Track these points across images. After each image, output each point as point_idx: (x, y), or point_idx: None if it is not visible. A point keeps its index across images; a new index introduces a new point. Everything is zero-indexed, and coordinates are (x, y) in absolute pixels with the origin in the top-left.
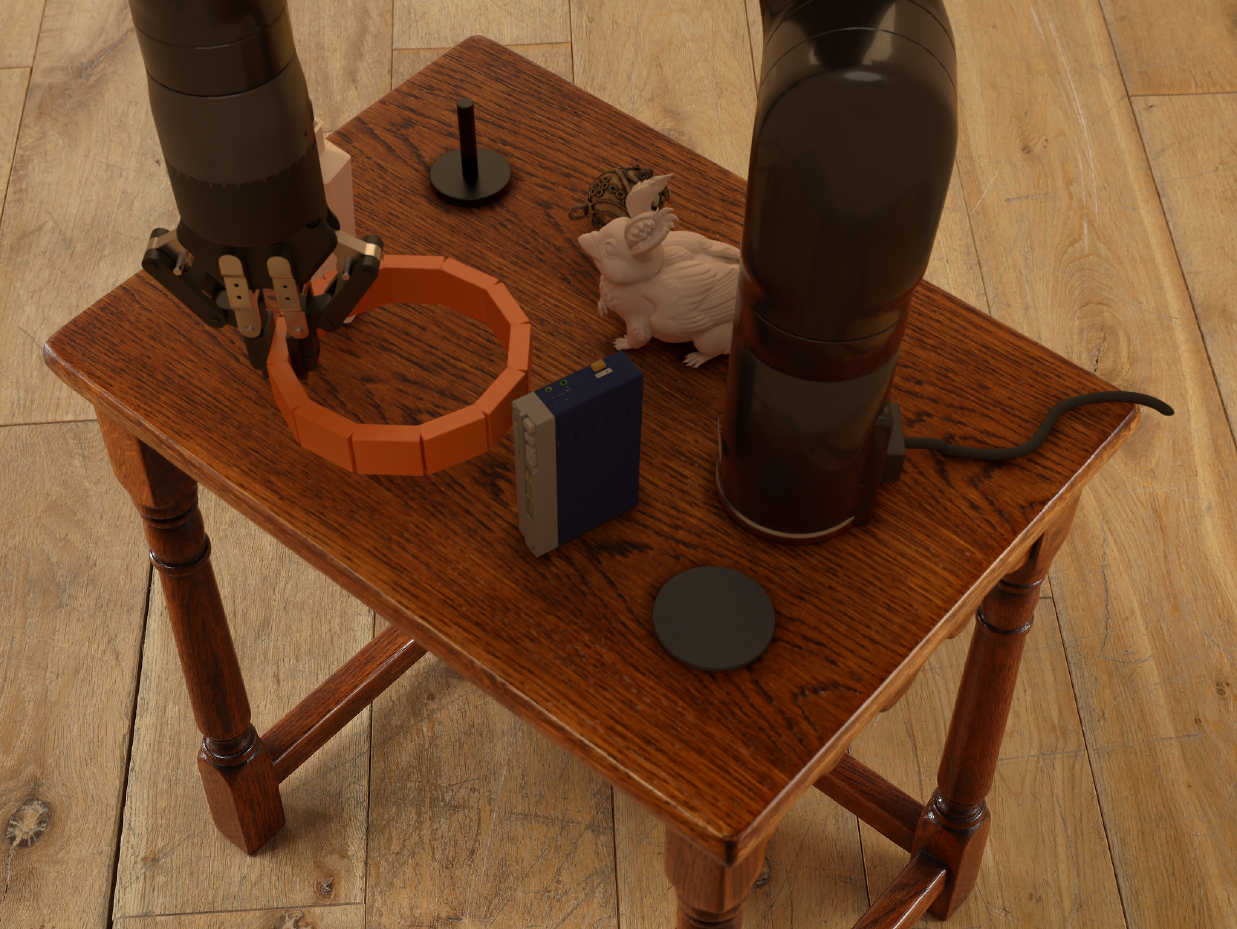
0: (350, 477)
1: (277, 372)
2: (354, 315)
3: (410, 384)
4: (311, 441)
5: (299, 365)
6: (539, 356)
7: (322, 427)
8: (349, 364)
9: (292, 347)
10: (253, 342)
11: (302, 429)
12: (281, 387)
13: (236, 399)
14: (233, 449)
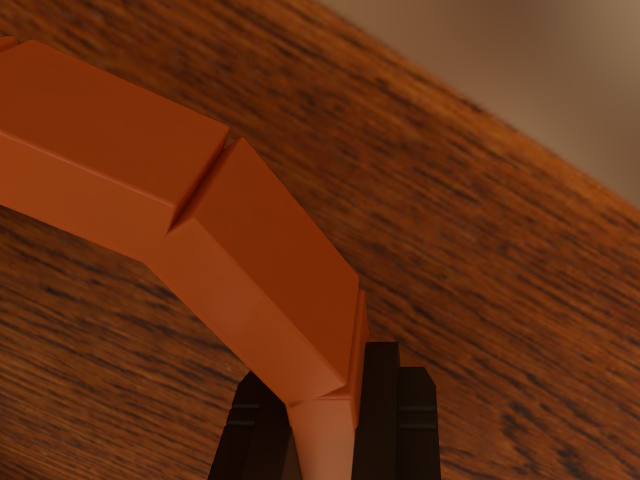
0: (258, 150)
1: (301, 363)
2: None
3: (222, 343)
4: (162, 125)
5: None
6: (53, 394)
7: (35, 142)
8: None
9: (269, 450)
10: (409, 465)
11: (177, 156)
12: (264, 307)
13: (520, 303)
14: (509, 195)
